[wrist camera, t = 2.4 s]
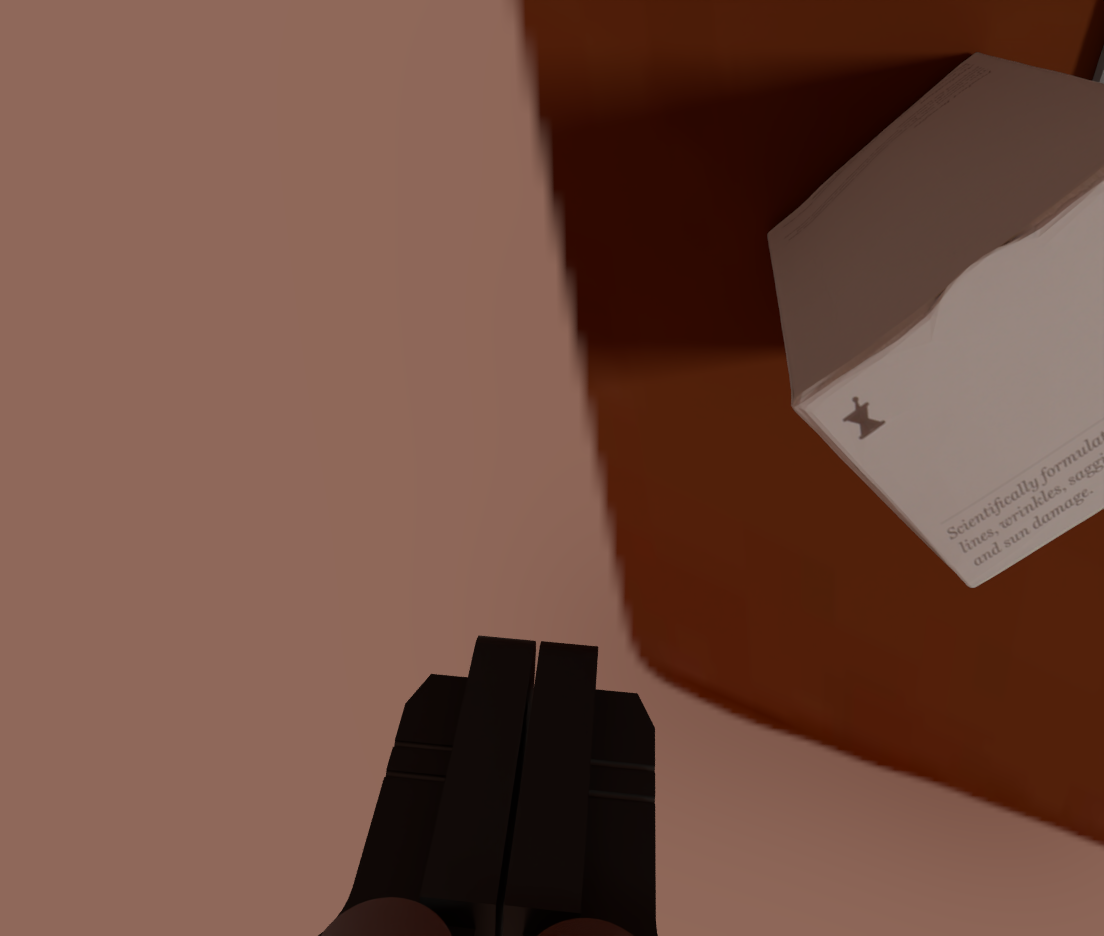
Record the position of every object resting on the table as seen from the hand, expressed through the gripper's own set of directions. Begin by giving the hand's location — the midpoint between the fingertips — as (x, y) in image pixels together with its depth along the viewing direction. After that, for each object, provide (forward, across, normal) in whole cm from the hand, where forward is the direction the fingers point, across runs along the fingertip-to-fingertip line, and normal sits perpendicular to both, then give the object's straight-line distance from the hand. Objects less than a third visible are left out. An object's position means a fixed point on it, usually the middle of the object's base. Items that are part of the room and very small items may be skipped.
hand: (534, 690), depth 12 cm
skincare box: (+22, -10, 0) cm, 25 cm away
